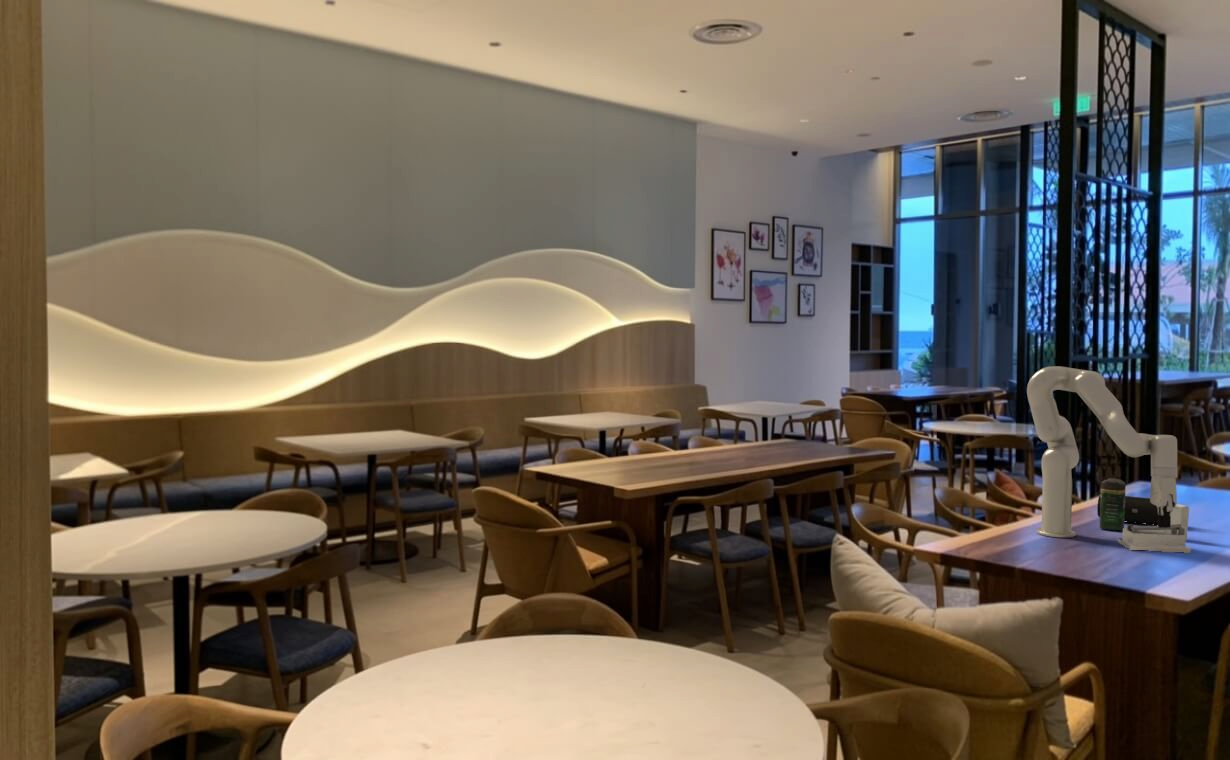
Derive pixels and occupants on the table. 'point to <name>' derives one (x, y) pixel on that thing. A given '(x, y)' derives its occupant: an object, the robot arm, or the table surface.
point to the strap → (1156, 527)
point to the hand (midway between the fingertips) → (1164, 526)
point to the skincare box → (1180, 517)
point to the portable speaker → (1138, 510)
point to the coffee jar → (1112, 504)
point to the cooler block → (1154, 540)
